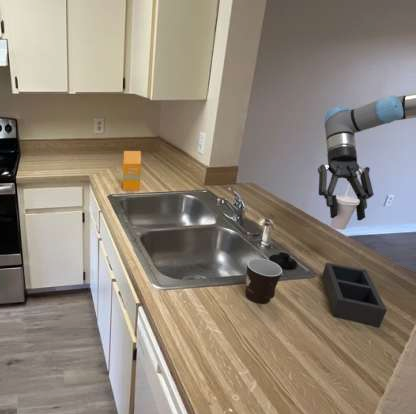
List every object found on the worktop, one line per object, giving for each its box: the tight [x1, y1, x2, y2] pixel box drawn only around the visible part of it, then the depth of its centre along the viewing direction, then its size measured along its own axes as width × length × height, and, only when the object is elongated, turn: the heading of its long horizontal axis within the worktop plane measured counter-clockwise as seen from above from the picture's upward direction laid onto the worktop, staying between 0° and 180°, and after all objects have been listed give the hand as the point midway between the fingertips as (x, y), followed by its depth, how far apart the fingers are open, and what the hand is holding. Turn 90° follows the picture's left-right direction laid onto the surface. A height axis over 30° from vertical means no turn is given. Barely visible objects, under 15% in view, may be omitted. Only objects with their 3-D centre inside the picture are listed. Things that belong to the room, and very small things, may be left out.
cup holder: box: [321, 262, 388, 328], centre depth 91 cm, size 10×19×6 cm, turn 156°
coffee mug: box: [244, 257, 283, 305], centre depth 91 cm, size 12×9×10 cm
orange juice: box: [122, 150, 142, 191], centre depth 173 cm, size 8×9×20 cm
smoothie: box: [330, 183, 360, 231], centre depth 101 cm, size 6×6×14 cm
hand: (347, 217), depth 99 cm, fingers closed on smoothie, 6 cm apart
